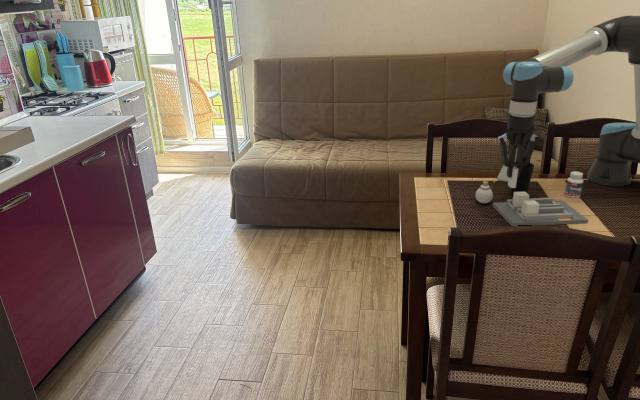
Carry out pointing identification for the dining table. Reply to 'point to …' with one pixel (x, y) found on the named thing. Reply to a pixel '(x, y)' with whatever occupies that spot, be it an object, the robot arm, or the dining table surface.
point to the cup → (523, 179)
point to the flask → (503, 174)
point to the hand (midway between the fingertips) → (511, 186)
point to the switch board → (540, 213)
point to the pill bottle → (574, 185)
